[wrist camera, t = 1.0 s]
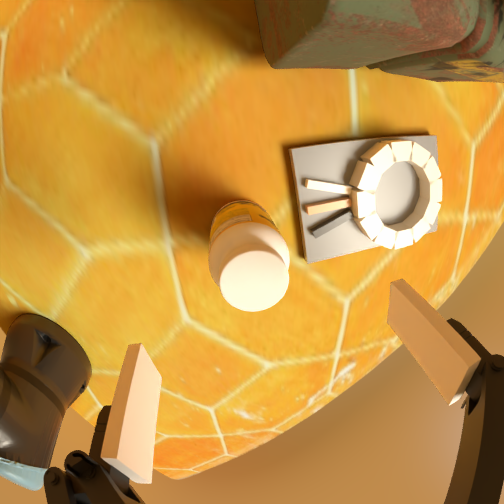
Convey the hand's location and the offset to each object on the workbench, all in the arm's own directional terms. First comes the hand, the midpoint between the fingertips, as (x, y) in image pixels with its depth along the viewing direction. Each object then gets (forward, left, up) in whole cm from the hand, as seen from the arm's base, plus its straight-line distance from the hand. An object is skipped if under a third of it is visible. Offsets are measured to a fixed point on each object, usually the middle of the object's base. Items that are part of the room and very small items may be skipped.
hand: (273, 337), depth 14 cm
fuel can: (+16, +31, -17) cm, 39 cm away
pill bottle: (0, 0, -17) cm, 17 cm away
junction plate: (+15, +1, -16) cm, 22 cm away
